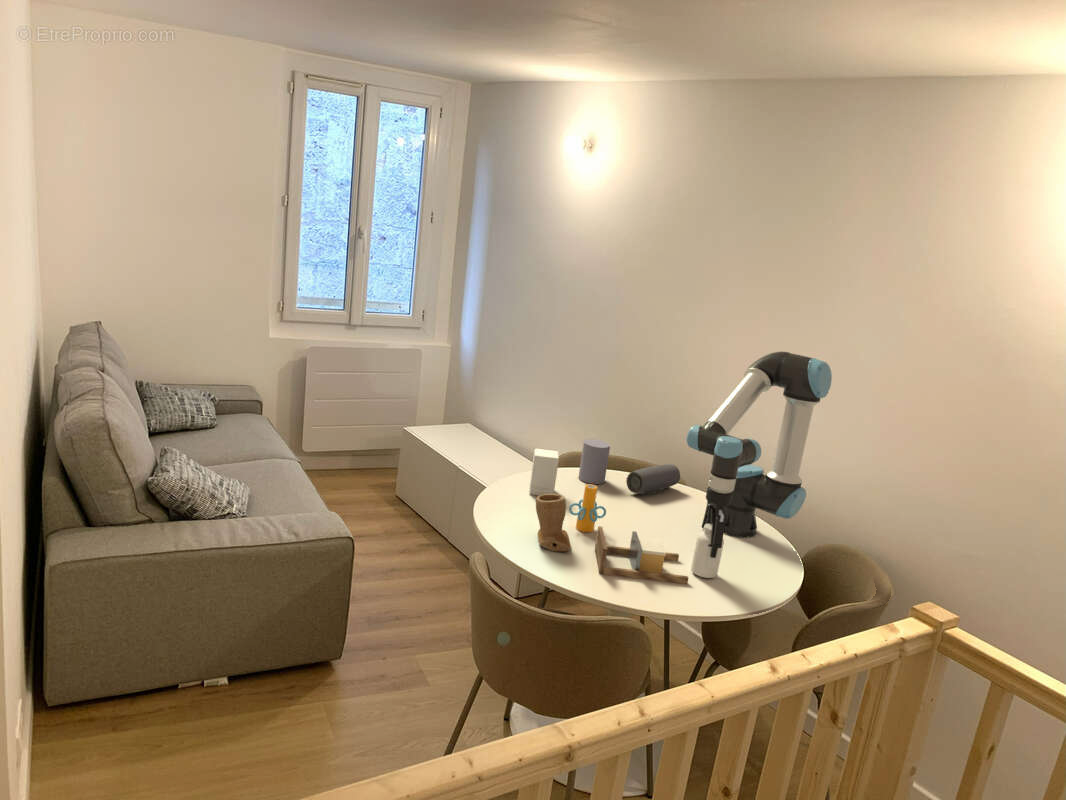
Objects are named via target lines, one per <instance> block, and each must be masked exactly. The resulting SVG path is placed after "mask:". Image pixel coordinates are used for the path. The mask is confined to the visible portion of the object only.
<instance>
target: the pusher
mask: <svg viewBox="0 0 1066 800" xmlns="http://www.w3.org/2000/svg"><path fill="white" fill-rule="evenodd" d="M639 540H640V539H639V536H638V532H637V531H632V532H631V538H630V545H629V548H630V549H629V556H628V558H629V561H630V565H631V570H639V567H640V562H641V556H642V547H641V544H640V541H639Z"/></svg>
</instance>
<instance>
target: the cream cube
mask: <svg viewBox="0 0 1066 800" xmlns="http://www.w3.org/2000/svg"><path fill="white" fill-rule="evenodd" d="M639 541H640V544H641V547H642V556H641V562H640V567H639V571H648V572H656V573H663V567H664V562H665V560H664V557H665V554H666V550H665V547H664V545H663V542H657V541H652V540H651V541H649V540H642V539H639Z"/></svg>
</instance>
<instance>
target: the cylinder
mask: <svg viewBox="0 0 1066 800" xmlns="http://www.w3.org/2000/svg"><path fill="white" fill-rule="evenodd" d="M597 493H598V486H597V485H596V484H590V483H587V484H585V485H584V491H583V499H580V500H579V502H574V503H571V504H570V506H569V508H568V511H569V513H570V515H573V516H577V517H576V525H575V528H576V530H577V531H579V532H583V533H592V532H594V531H595V525H596V522H597V521H598V519H602V518H604V517H605V516H606V515H607V509H606V508H605V507H604V505H598V504H597V501H596V499H597ZM575 506H576V507H578V512H573V510H572V508H573V507H575ZM599 509H602V510H603V514H601V515H598V512H597V510H599Z"/></svg>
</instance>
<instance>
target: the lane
mask: <svg viewBox="0 0 1066 800" xmlns="http://www.w3.org/2000/svg"><path fill="white" fill-rule="evenodd" d="M597 527H598V528H597V534H596V540H595V547H594V554H595V558H596V564H597V565H596V566H597V569H598V574H599V575H603V576H612V577H613V576H614V577H621V578H622V577H623V578H629V579H631V578H632V579H640V580H646V581H647V580H648V581H656V582H663V583H664V582H665V583H666V582H667V583H673V584H674V583H676V584H681V585H683V584H684V585H688V583H689V576H688V575H682V574H681V575H680V574H672V573H663V572H662V573H656V572H648V571H639V570H633V569H632V568H631V569H630V568H629V569H627V568H621V567H620V568H619V567H612V566H606V559H607V555H608V554H611V555H612V554H613V555H618V556H619V555H620V556H628V557H629V549H630V547H622V546H614V545H607V542H606V537H605V532H604V527H603V526H597ZM665 552H666V551H665ZM679 556H680V555H679V553H673V552H666V554H665V557H664V561H671V562H679Z"/></svg>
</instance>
